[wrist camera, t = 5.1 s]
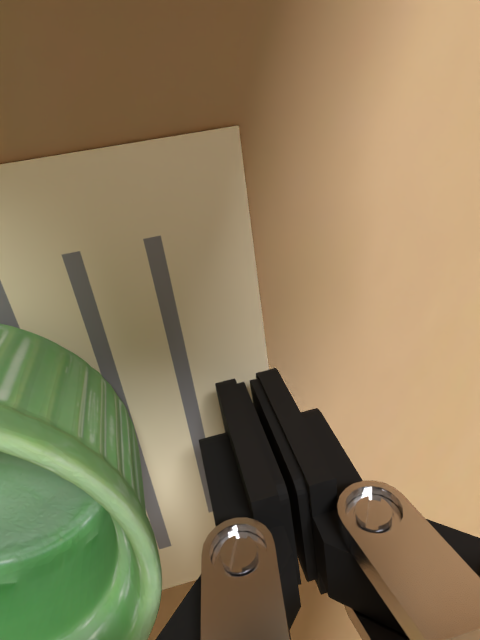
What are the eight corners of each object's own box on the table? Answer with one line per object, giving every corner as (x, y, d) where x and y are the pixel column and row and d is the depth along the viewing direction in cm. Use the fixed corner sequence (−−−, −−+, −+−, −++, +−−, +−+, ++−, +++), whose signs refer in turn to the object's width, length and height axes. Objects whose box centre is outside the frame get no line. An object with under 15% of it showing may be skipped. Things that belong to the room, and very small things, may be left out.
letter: (237, 125, 10) (239, 125, 10) (290, 548, 16) (291, 551, 16) (-350, 221, 8) (-356, 222, 8) (-34, 646, 15) (-35, 649, 14)
